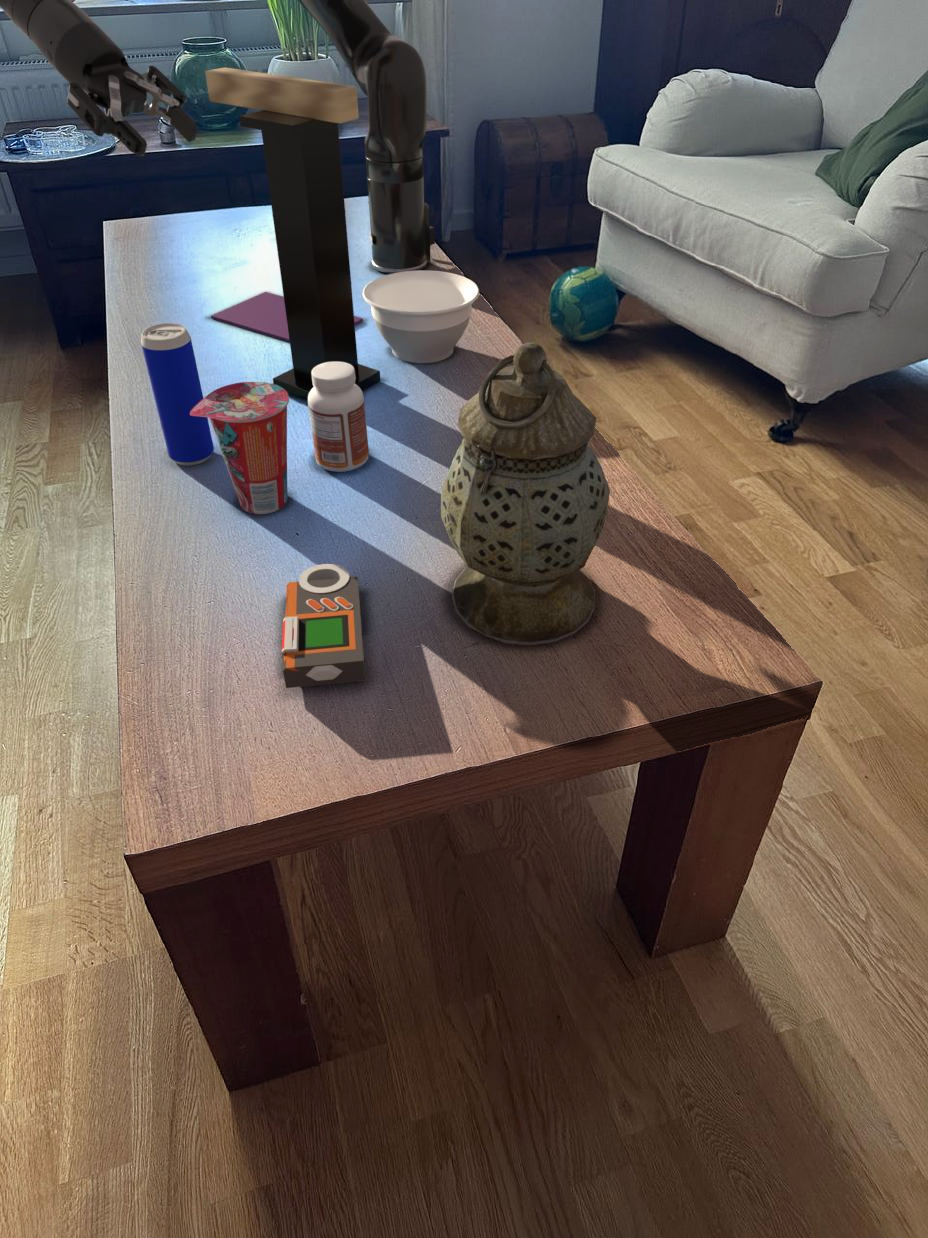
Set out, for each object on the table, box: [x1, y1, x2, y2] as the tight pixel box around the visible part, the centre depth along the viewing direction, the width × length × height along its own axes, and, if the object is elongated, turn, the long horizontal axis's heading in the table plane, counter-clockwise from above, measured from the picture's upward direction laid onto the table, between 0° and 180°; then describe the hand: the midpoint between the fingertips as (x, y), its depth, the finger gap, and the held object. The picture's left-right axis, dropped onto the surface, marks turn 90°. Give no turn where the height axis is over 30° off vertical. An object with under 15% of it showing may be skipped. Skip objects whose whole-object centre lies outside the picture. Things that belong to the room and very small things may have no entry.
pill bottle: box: [307, 362, 370, 473], centre depth 99 cm, size 6×6×11 cm
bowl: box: [362, 269, 480, 364], centre depth 123 cm, size 16×16×9 cm
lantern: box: [440, 341, 611, 646], centre depth 75 cm, size 14×14×25 cm
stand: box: [238, 110, 381, 402], centre depth 107 cm, size 10×10×32 cm
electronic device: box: [281, 563, 367, 689], centre depth 78 cm, size 7×3×15 cm
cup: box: [190, 381, 290, 515], centre depth 92 cm, size 9×8×12 cm
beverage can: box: [140, 322, 215, 466], centre depth 98 cm, size 5×5×15 cm
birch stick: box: [204, 67, 360, 124], centre depth 97 cm, size 20×3×3 cm, turn 54°
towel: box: [210, 291, 364, 343], centre depth 134 cm, size 12×20×1 cm, turn 56°
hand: (169, 142), depth 111 cm, fingers open, 8 cm apart
